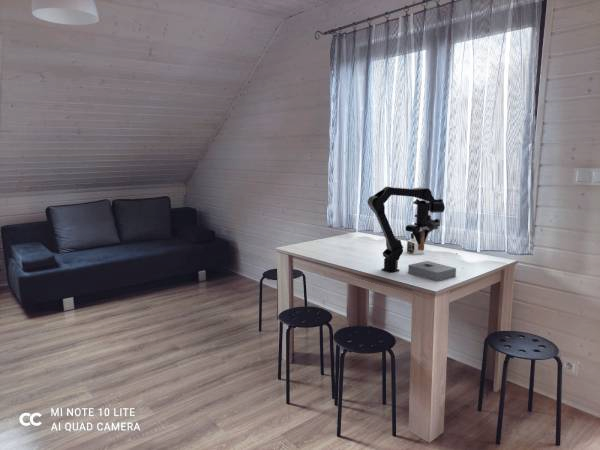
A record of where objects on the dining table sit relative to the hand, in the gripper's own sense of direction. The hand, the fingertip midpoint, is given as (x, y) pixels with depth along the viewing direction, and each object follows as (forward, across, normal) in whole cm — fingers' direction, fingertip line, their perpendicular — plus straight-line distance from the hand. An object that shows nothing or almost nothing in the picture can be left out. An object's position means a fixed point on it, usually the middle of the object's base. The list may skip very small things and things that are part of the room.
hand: (421, 243), depth 224 cm
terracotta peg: (+3, 0, 0) cm, 3 cm away
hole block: (+13, -4, -10) cm, 17 cm away
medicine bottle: (+13, +26, +24) cm, 38 cm away
